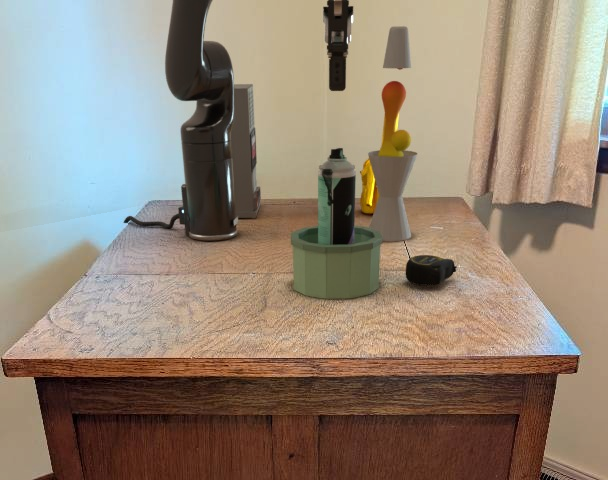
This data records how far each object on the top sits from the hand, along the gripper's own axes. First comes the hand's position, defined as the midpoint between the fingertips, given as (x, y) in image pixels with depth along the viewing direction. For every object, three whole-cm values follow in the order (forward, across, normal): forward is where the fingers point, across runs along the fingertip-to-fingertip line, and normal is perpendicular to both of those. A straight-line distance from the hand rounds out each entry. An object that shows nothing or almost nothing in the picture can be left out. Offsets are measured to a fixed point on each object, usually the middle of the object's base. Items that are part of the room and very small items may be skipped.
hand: (337, 88), depth 99 cm
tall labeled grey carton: (+28, -53, -21) cm, 64 cm away
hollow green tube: (+28, 0, 0) cm, 28 cm away
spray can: (+28, 0, 0) cm, 28 cm away
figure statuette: (+28, -53, +8) cm, 60 cm away
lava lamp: (+28, -32, +10) cm, 43 cm away
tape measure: (+28, -1, +15) cm, 32 cm away
